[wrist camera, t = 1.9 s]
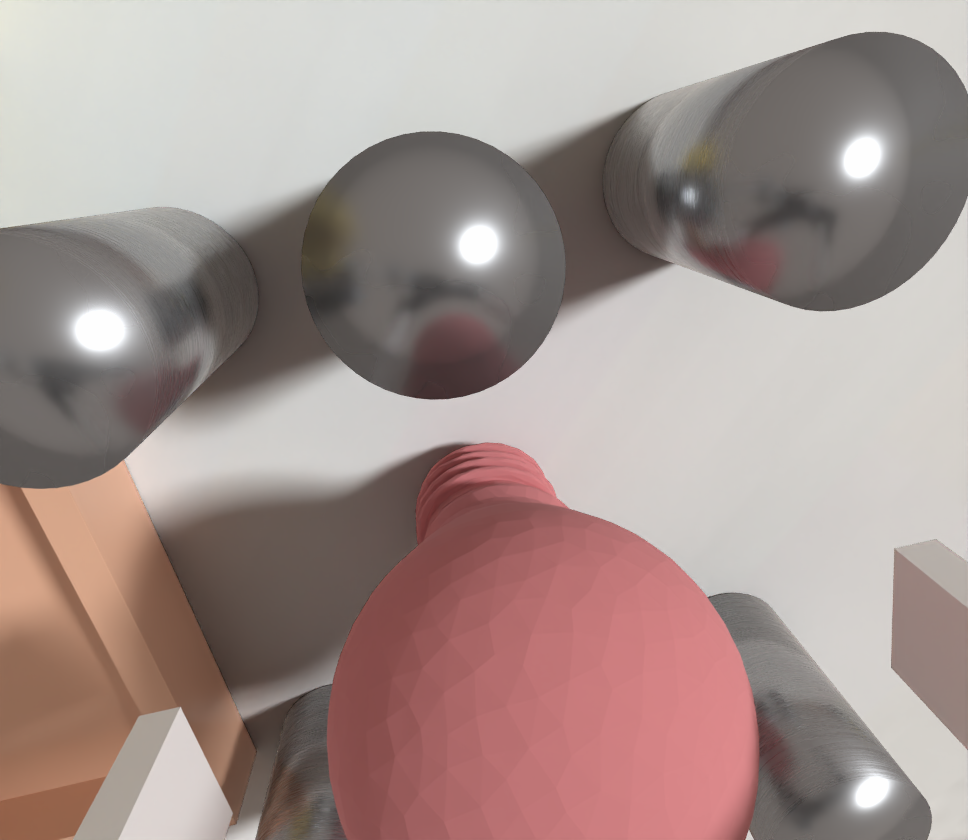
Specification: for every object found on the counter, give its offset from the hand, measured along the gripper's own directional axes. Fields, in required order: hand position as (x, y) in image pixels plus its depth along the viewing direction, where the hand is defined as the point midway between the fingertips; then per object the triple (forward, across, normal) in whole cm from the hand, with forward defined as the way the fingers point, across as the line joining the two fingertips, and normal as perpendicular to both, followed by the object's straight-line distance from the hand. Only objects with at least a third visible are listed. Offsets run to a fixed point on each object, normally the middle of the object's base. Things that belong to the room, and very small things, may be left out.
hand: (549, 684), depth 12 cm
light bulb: (+8, 0, 0) cm, 8 cm away
